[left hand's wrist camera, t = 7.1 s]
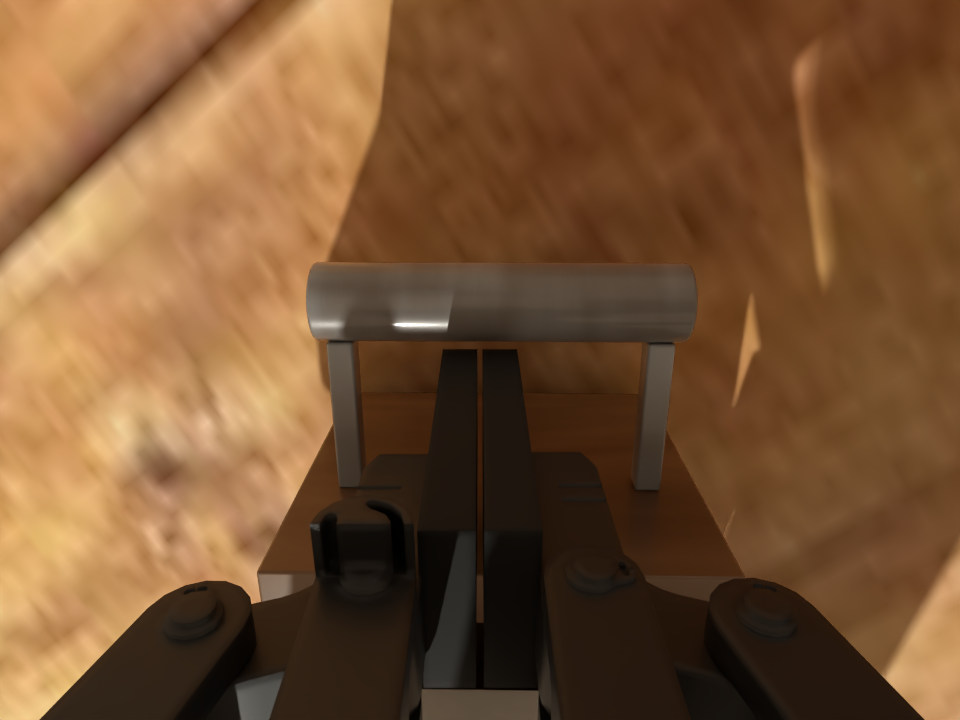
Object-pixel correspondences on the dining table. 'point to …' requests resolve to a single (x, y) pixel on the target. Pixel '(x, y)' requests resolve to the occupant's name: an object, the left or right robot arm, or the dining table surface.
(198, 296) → the dining table surface
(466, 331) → the drawer
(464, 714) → the cabinet
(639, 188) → the dining table surface
